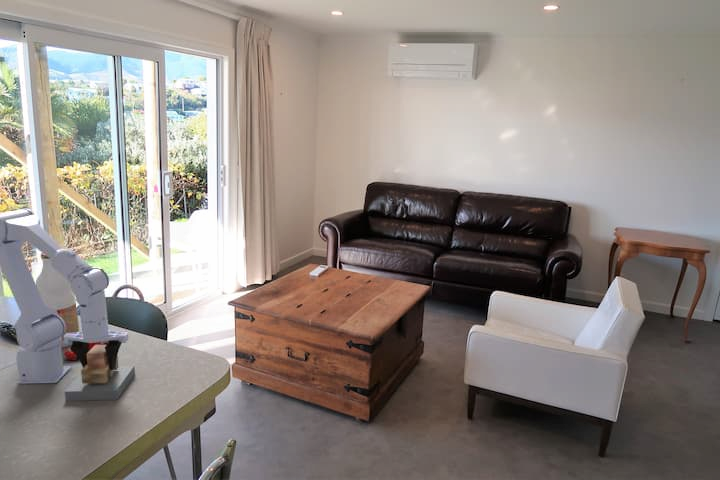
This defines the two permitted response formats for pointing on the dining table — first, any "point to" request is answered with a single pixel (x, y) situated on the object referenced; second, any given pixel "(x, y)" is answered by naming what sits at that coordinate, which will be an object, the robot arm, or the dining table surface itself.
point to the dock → (101, 386)
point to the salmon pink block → (97, 356)
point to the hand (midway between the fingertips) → (99, 368)
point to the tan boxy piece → (97, 373)
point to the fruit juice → (58, 296)
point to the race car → (71, 356)
